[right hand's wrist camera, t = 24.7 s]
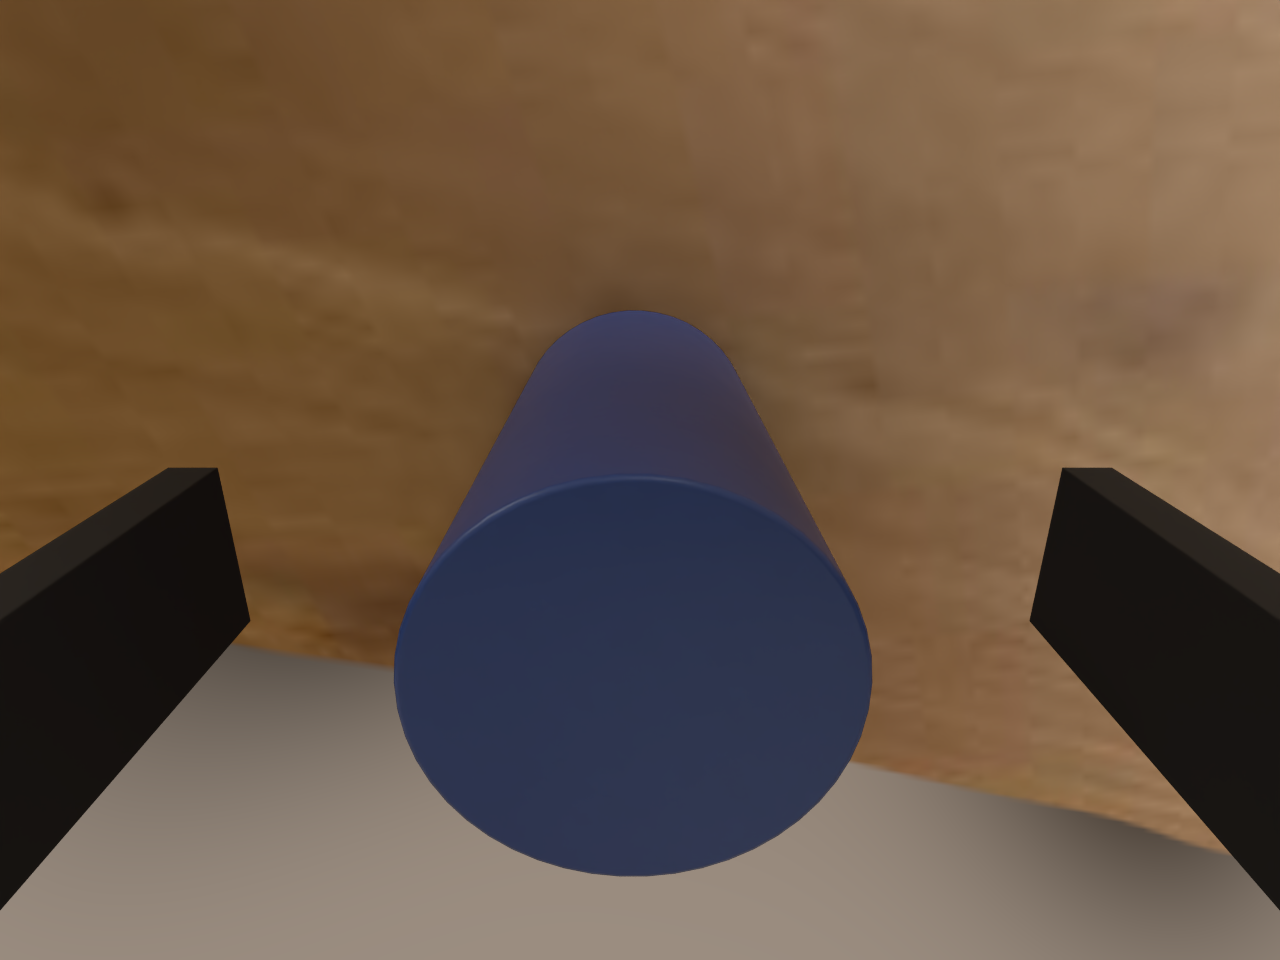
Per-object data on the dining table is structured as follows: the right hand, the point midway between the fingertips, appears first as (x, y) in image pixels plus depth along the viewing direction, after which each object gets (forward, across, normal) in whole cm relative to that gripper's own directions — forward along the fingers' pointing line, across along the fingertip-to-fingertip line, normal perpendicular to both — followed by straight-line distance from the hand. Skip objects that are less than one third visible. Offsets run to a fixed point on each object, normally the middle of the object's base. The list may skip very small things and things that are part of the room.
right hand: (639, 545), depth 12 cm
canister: (+8, 0, 0) cm, 8 cm away
